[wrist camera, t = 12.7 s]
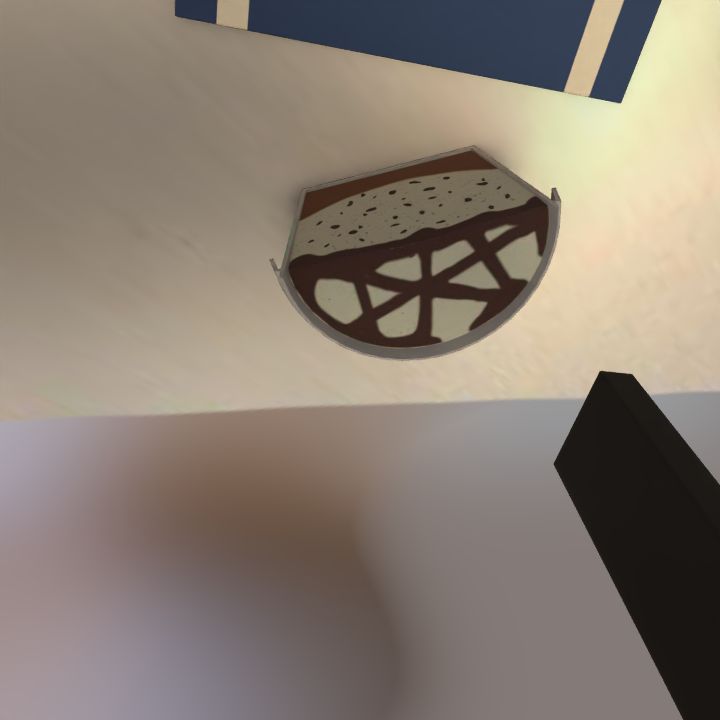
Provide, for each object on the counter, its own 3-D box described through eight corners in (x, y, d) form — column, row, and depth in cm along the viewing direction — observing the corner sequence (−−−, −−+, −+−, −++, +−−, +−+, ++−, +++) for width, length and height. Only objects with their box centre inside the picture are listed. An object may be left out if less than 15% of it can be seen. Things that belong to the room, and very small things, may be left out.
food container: (306, 295, 36) (309, 398, 28) (274, 196, 32) (267, 281, 24) (511, 244, 35) (577, 334, 27) (502, 138, 32) (574, 204, 23)
